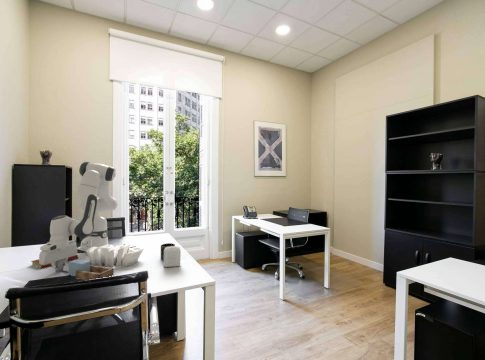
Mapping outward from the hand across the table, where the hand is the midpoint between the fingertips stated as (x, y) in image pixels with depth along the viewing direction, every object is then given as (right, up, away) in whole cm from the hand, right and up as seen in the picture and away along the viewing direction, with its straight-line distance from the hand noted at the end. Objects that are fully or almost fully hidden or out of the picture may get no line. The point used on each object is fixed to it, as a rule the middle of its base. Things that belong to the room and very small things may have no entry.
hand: (59, 267), depth 145 cm
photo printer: (+62, -3, +12) cm, 64 cm away
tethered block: (+9, -3, -3) cm, 9 cm away
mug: (+56, -3, +27) cm, 62 cm away
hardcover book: (-13, -3, +15) cm, 20 cm away
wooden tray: (+24, -3, -7) cm, 26 cm away
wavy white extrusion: (+23, -3, +17) cm, 29 cm away
